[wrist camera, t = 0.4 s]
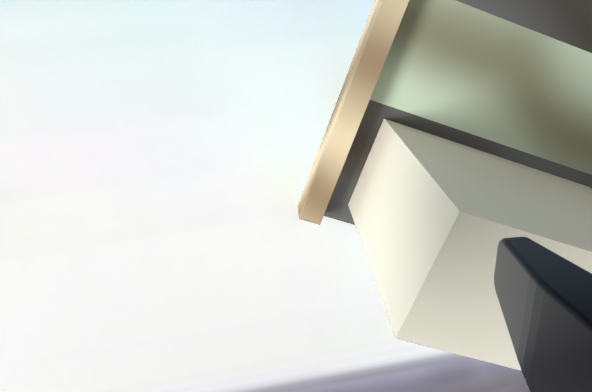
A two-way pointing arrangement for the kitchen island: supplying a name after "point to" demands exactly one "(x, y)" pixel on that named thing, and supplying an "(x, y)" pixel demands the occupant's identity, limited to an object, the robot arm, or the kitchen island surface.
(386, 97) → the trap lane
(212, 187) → the kitchen island surface
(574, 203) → the block
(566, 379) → the robot arm
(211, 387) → the kitchen island surface
